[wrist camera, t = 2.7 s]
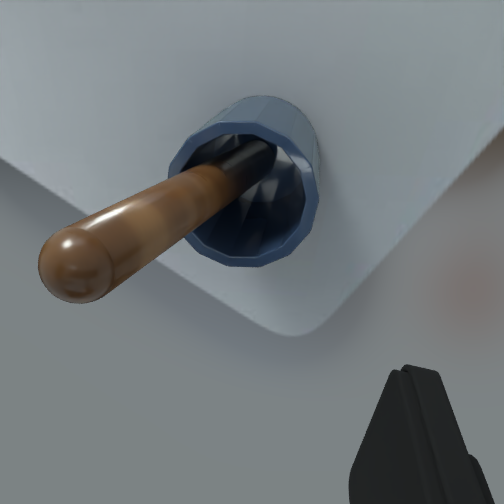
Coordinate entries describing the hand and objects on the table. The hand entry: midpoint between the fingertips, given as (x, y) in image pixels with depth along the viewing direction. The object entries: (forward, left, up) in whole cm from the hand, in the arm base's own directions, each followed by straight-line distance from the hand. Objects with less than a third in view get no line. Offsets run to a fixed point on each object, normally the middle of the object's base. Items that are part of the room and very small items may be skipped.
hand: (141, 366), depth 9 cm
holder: (0, 0, -19) cm, 19 cm away
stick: (0, 0, -18) cm, 18 cm away
